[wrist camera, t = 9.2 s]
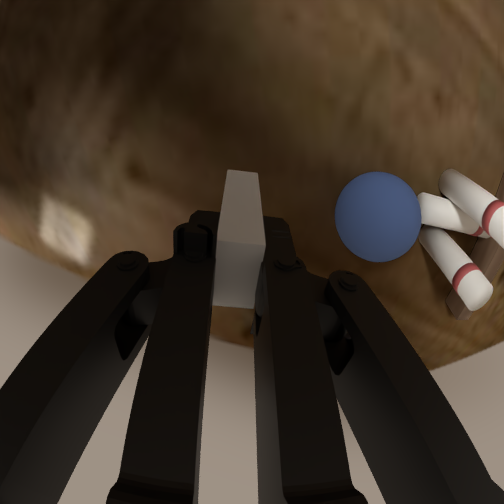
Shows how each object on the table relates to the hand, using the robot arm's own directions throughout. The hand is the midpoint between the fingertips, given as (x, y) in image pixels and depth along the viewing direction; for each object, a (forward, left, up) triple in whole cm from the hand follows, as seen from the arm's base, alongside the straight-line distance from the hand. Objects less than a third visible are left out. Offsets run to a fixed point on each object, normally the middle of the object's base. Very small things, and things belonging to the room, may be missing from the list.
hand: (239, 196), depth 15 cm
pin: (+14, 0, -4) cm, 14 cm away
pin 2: (+17, -3, -6) cm, 18 cm away
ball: (+9, -1, -3) cm, 10 cm away
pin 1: (+17, +2, -6) cm, 18 cm away
